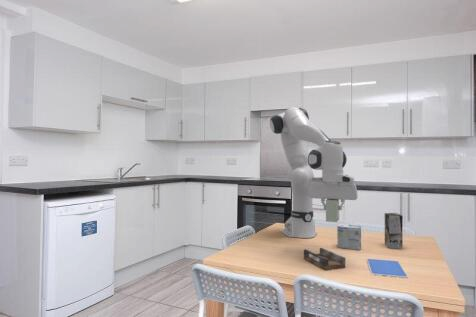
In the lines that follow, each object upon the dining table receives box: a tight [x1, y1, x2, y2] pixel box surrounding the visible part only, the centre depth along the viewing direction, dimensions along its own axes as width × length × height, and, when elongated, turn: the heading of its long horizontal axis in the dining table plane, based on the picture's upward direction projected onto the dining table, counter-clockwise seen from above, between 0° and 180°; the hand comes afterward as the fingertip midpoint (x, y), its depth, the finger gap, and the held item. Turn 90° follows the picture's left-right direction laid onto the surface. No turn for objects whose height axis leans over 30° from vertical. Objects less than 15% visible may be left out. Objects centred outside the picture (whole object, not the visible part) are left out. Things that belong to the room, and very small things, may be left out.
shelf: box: [303, 247, 346, 271], centre depth 134 cm, size 16×9×4 cm, turn 20°
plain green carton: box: [325, 199, 340, 223], centre depth 140 cm, size 5×8×9 cm, turn 156°
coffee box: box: [384, 212, 404, 250], centre depth 161 cm, size 9×6×16 cm
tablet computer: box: [366, 258, 409, 279], centre depth 127 cm, size 19×13×1 cm, turn 163°
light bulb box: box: [336, 223, 362, 251], centre depth 159 cm, size 11×7×11 cm, turn 65°
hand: (332, 209), depth 140 cm, fingers closed on plain green carton, 5 cm apart
